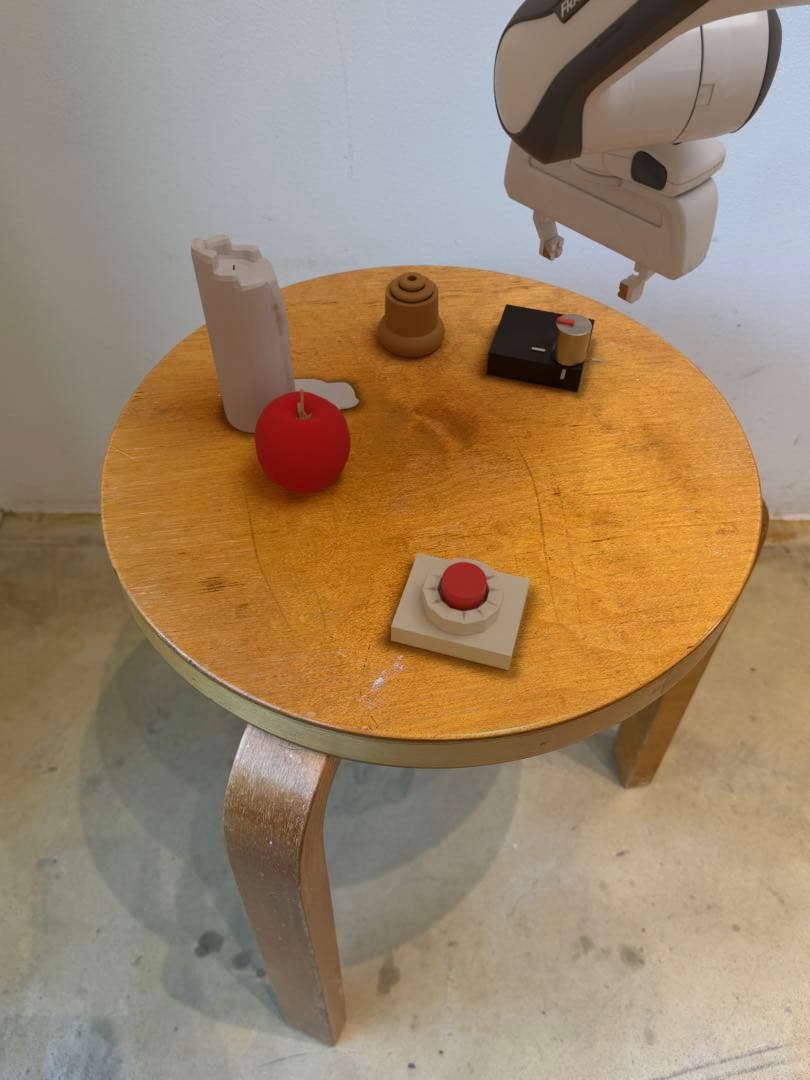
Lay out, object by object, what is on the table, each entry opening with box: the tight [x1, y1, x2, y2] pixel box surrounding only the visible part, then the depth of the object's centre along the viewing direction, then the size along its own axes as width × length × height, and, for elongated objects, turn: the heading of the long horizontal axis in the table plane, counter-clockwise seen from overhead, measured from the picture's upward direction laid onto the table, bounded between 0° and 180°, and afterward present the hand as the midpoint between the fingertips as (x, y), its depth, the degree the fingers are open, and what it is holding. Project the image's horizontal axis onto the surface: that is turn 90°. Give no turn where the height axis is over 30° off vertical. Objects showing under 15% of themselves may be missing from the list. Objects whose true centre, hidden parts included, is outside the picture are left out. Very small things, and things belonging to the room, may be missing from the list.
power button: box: [441, 562, 487, 610], centre depth 69 cm, size 4×4×2 cm
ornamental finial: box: [377, 271, 446, 358], centre depth 93 cm, size 8×8×8 cm
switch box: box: [390, 552, 531, 671], centre depth 71 cm, size 10×8×4 cm
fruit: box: [254, 389, 352, 494], centre depth 79 cm, size 9×9×10 cm
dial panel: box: [485, 303, 606, 393], centre depth 92 cm, size 12×11×3 cm
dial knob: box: [551, 313, 592, 366], centre depth 88 cm, size 4×4×4 cm
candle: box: [190, 233, 360, 434], centre depth 81 cm, size 7×14×20 cm, turn 105°
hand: (588, 276), depth 79 cm, fingers open, 8 cm apart
